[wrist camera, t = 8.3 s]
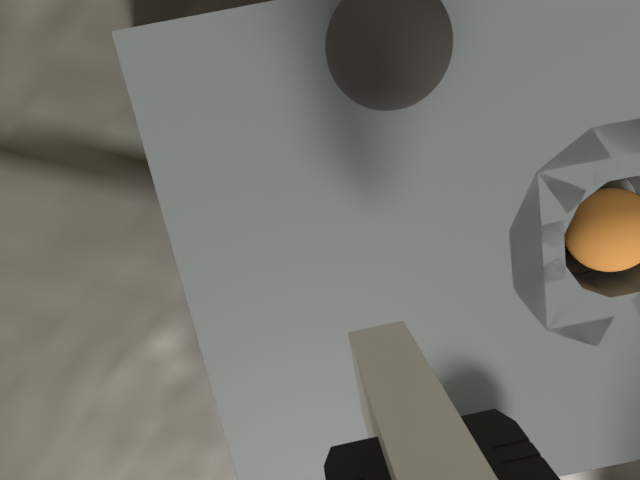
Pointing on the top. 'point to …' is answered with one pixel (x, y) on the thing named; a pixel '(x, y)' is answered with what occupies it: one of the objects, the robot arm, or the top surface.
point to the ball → (606, 230)
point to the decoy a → (388, 50)
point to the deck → (398, 221)
